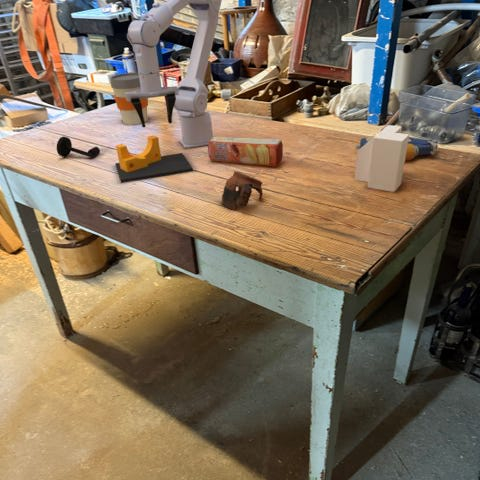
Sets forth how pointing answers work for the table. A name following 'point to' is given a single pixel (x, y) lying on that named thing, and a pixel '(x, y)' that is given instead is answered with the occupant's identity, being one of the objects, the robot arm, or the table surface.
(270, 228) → the table surface
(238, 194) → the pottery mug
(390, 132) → the corner bracket
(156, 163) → the mat
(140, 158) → the pipe clamp
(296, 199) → the table surface
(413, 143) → the spray gun
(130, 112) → the reusable coffee cup
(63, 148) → the light fixture
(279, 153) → the snack package
